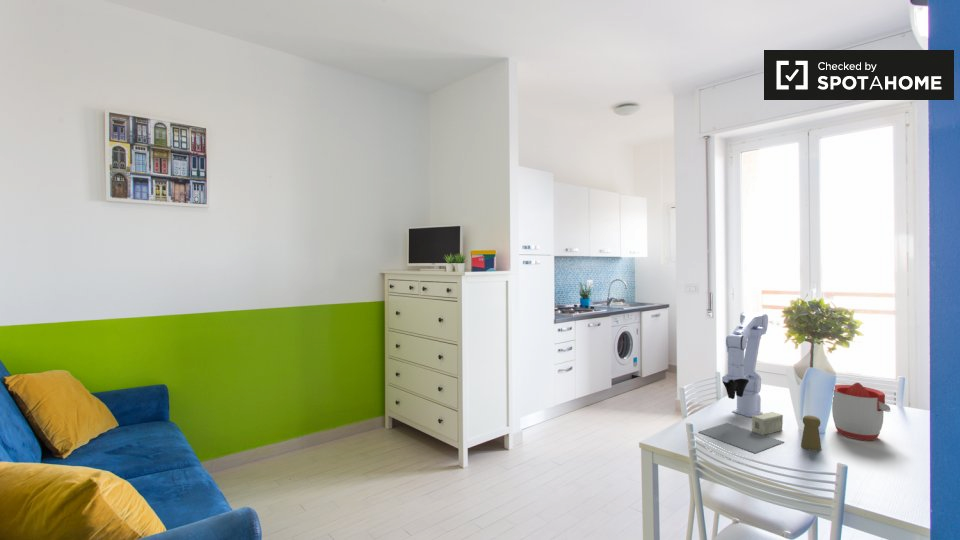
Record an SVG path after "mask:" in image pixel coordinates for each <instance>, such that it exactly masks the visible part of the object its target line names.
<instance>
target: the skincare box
mask: <svg viewBox="0 0 960 540" xmlns="http://www.w3.org/2000/svg"><path fill="white" fill-rule="evenodd" d="M783 416H784V415H783V414H782V413H777V412H774V411H770V412H765V413H761V414H758V415H755V416H752V417H751V431H752V432H755V433H758V434H761V435H768V434H771V433H776V432H780V431H783V424H784V423H783V422H784V420H783V419H784V417H783Z"/></svg>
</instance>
